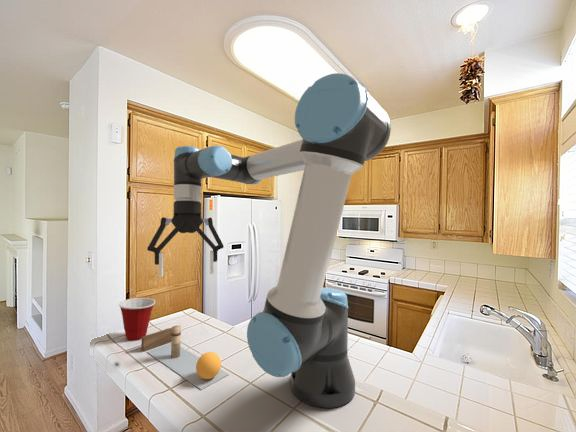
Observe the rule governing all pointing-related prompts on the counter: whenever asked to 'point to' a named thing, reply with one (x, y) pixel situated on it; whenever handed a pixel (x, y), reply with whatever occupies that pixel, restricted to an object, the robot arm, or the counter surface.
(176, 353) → the pin
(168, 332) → the board
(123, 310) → the plastic cup
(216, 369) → the ball
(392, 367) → the counter surface
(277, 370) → the robot arm
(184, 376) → the lane mark
